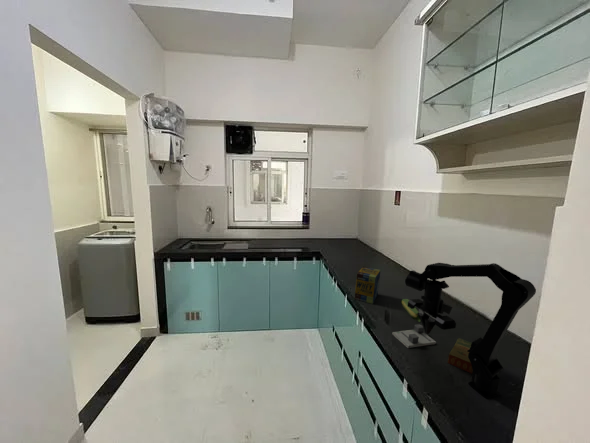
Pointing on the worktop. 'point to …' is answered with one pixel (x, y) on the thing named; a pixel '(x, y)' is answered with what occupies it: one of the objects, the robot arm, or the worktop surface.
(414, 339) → the breaker
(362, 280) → the protein box
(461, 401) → the worktop surface
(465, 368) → the carton
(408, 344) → the breaker board
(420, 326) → the block
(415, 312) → the edible corn
